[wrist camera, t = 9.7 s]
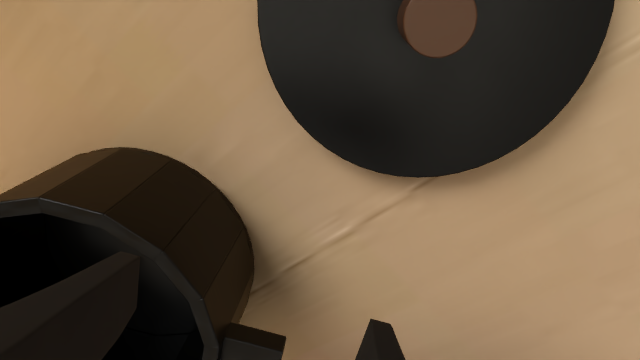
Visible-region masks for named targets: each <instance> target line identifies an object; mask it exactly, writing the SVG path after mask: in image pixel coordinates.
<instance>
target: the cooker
mask: <svg viewBox="0 0 640 360" xmlns="http://www.w3.org/2000/svg"><path fill="white" fill-rule="evenodd" d="M121 251H122V252H125V253H129V254H133V255H137V256H140V267H139V281H138V295H137V308H136V310H135V312H134V313H133V315H132V317H131V318H130V320H129V322H128V324H127V325H126V327H125V328H124V330H123V332H122V333H121V335H120V336H119V338H118V339H117V341H116V342H115V343H114V345H113V346H112V347H111V348H110V350H109V351H108V352H107V353H106V355H105V356H104V357H103V359H102V360H281V358H282V354H283V350H284V346H285V342H286V336H283V335H279V334H275V333H271V332H267V331H263V330H259V329H256V328H252V327H248V326H244V325H240V324H239V322H240V319H241V317H242V314H243V312H244V310H245V307H246V305H247V302H248V298H249V292H250V289H251V286H252V282H253V275H254V256H253V250H252V245H251V241H250V238H249V236H248V233H247V230H246V228H245V226H244V224H243V222H242V220H241V218H240V216H239V215H238V213H237V212H236V210H235V208H234V207H233V205H232V204H231V203H230V202H229V201H228V199H227V198H226V197H225V196H224V195H223V193H222V192H221V191H220V190H219V189H217V188H216V187H215V186H214V185H213V184H212V183H211V182H210V181H209V180H207V179H206V178H205V177H203V176H202V175H201V174H199V173H198V172H197V171H195V170H193V169H192V168H190V167H188V166H187V165H185V164H183V163H181V162H179V161H177V160H174V159H172V158H170V157H168V156H165V155H162V154H158V153H155V152H152V151H147V150H142V149H137V148H122V147H119V148H105V149H100V150H96V151H91V152H89V153H83V154H79V155H76V156H74V157H72V158H70V159H68V160H66V161H65V162H63V163H61V164H59V165H57V166H55V167H53V168H51V169H49V170H47V171H45V172H43V173H41V174H39V175H37V176H35V177H33V178H31V179H30V180H28V181H26V182H24V183H22V184H20V185H18V186H16V187H14V188H12V189H10V190H8V191H6V192H4V193H2V194H0V308H1V307H3V306H6V305H8V304H11V303H13V302H16V301H18V300H20V299H22V298H25V297H27V296H29V295H31V294H34V293H36V292H38V291H40V290H43V289H45V288H47V287H49V286H52V285H54V284H56V283H58V282H60V281H62V280H64V279H66V278H68V277H70V276H72V275H74V274H76V273H78V272H80V271H82V270H84V269H86V268H88V267H90V266H92V265H94V264H96V263H98V262H100V261H102V260H104V259H106V258H108V257H110V256H112V255H114V254H116V253H118V252H121Z"/></svg>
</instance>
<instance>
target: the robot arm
mask: <svg viewBox="0 0 640 360" xmlns="http://www.w3.org/2000/svg"><path fill="white" fill-rule="evenodd" d="M139 267H140V256H137V255H133V254H129V253H125V252H122V251H121V252H118V253H116V254H114V255H112V256H110V257H108V258H106V259H104V260H102V261H100V262H98V263H96V264H94V265H92V266H90V267H88V268H86V269H84V270H82V271H80V272H78V273H76V274H74V275H72V276H70V277H68V278H66V279H64V280H62V281H60V282H58V283H56V284H54V285H52V286H49V287H47V288H45V289H43V290H40V291H38V292H36V293H34V294H31V295H29V296H27V297H25V298H22V299H20V300H18V301H16V302H13V303H11V304H8V305H6V306H3V307H1V308H0V360H102V359H103V357H104V356H105V355H106V353H107V352H108V351H109V350H110V348H111V347H112V346H113V345H114V343H115V342H116V341H117V339H118V338H119V336H120V335H121V333H122V332H123V330H124V328H125V327H126V325H127V324H128V322H129V320H130V318H131V317H132V315H133V313H134V312H135V310H136V308H137V295H138V281H139ZM355 360H405V358H404V355H403V353H402V350H401V348H400V346H399V343H398V341H397V338H396V335H395V333H394V330H393V328H392V326H391V324H389V323H385V322H381V321H377V320H374V319H370V322H369V324H368V327H367V330H366V332H365V335H364V338H363V340H362V343H361V346H360V348H359V351H358V354H357V356H356V359H355Z"/></svg>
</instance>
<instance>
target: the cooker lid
mask: <svg viewBox="0 0 640 360" xmlns="http://www.w3.org/2000/svg"><path fill="white" fill-rule="evenodd" d="M257 3H258V27H259V33H260V40H261V47H262V50H263V54H264V58H265V61H266V65H267V68H268V71H269V73H270V75H271V78H272V80H273V83H274V85H275V88H276V89H277V91H278V93H279V95H280V96H281V98H282V100H283V102H284V104H285V105H286V107H287V108H288V109H289V111H290V112H291V113H292V115H293V116H294V118H295V119H296V120H297V122H298V123H299V124H300V125H301V126H302V127H303V128H304V129H305V130H306V131H307V132H308V133H309V134H310V135H311V136H312V137H313V138H314V139H315V140H317V141H318V142H319V143H320V144H322V145H323V146H324V147H325V148H327V149H328V150H330V151H331V152H333V153H335V154H336V155H338V156H339V157H341V158H343V159H345V160H347V161H349V162H351V163H353V164H355V165H358V166H360V167H363V168H366V169H369V170H372V171H375V172H378V173H383V174H389V175H394V176H401V177H417V178H419V177H438V176H444V175H449V174H455V173H460V172H463V171H467V170H470V169H474V168H477V167H480V166H482V165H484V164H487V163H489V162H492V161H494V160H496V159H499V158H500V157H502V156H504V155H506V154H508V153H509V152H511V151H513V150H515V149H517V148H518V147H519V146H521V145H522V144H524V143H525V142H527V141H528V140H529V139H531V138H532V137H534V136H535V135H536V134H537V133H538V132H540V131H541V130H542V129H543V128H544V127H545V126H546V125H547V124H549V123H550V122H551V121H552V120H553V119H554V118H555V117H556V116H557V115H558V114H559V112H560V111H561V110H562V109H563V108H564V107H565V106H566V105H567V104H568V102H569V101H570V100H571V98H572V97H573V96H574V94H575V93H576V91H577V90H578V89H579V87H580V86H581V85H582V83H583V82H584V80H585V78H586V76H587V75H588V73H589V71H590V69H591V67H592V66H593V64H594V62H595V60H596V58H597V56H598V53H599V51H600V49H601V46H602V44H603V41H604V39H605V37H606V33H607V30H608V26H609V23H610V19H611V16H612V12H613V7H614V0H257Z"/></svg>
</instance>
